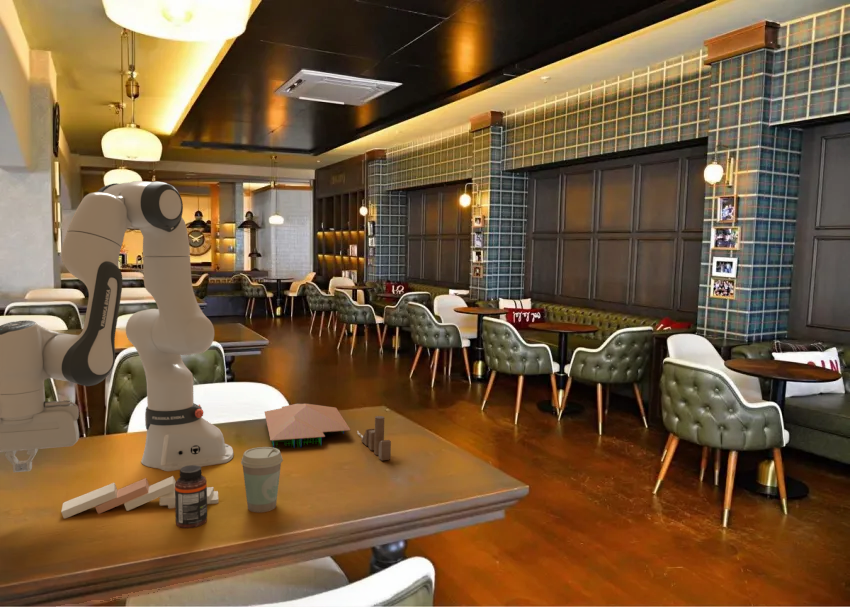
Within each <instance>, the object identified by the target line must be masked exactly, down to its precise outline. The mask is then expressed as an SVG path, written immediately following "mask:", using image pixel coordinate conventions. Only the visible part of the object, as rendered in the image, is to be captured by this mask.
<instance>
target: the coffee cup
mask: <svg viewBox="0 0 850 607" xmlns="http://www.w3.org/2000/svg"><path fill="white" fill-rule="evenodd" d="M283 461H284V460H283V455H282V453H281V451H280V449H279V448H277V447H274V448H273V446H271V447H270V446H262V447H261V446H259V447H253V448H249V449H246V450H245V451H244V452H243V455H242V458H241V461H240V464H241V465H242V471H243V480H244V486H245V488H244V489H245V496H246V503H247V509H248V511H250V512H251V513H252V512H253V513H266V512H270V511H273V510H274V509H276V506H277V501H278V499H277V498H278V494H279V493H278V491H279V482H280V476H281V467H282V463H283Z"/></svg>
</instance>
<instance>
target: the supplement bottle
mask: <svg viewBox="0 0 850 607" xmlns="http://www.w3.org/2000/svg"><path fill="white" fill-rule="evenodd" d="M175 481H176V483H175V508H174V509H175V524H176V526H177V527H178V528H182V529H193V528H197V527H200V526H203V525H205V523H207V520H208V504H207V487H208V483H207V478H206V477H205V476H204V475H202V466H201V467H200V466H197V465H190V466H185V467H182V468H181V469H180V470H179V478H177V480H175Z"/></svg>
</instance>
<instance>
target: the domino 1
mask: <svg viewBox="0 0 850 607" xmlns="http://www.w3.org/2000/svg"><path fill="white" fill-rule="evenodd" d="M149 486H150V484H149V481H148V479H147V477H145V478H143V479H140V480H138V481H135V482H134V483H131V484H129V485H126V486H123V487H122V488H118V489H117V498H114V499H112V500H110V501H107V502H105V503H102V504H100V505H97V506H95V507H94V508H95V510H96V512H97V514H98V515H100V514H102V513H104V512H106V511H109V510H111V509H114V508H115V507H119V506H121V505H124V503H125V502H128V501H130V500H132V499H135V498H137V497H139V496H142V495H144V494H146V493H148V492H149Z"/></svg>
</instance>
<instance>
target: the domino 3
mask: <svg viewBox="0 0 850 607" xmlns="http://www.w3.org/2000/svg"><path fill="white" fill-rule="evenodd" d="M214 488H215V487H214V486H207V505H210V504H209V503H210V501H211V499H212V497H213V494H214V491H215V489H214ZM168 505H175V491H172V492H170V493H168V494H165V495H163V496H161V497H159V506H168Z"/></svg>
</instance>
